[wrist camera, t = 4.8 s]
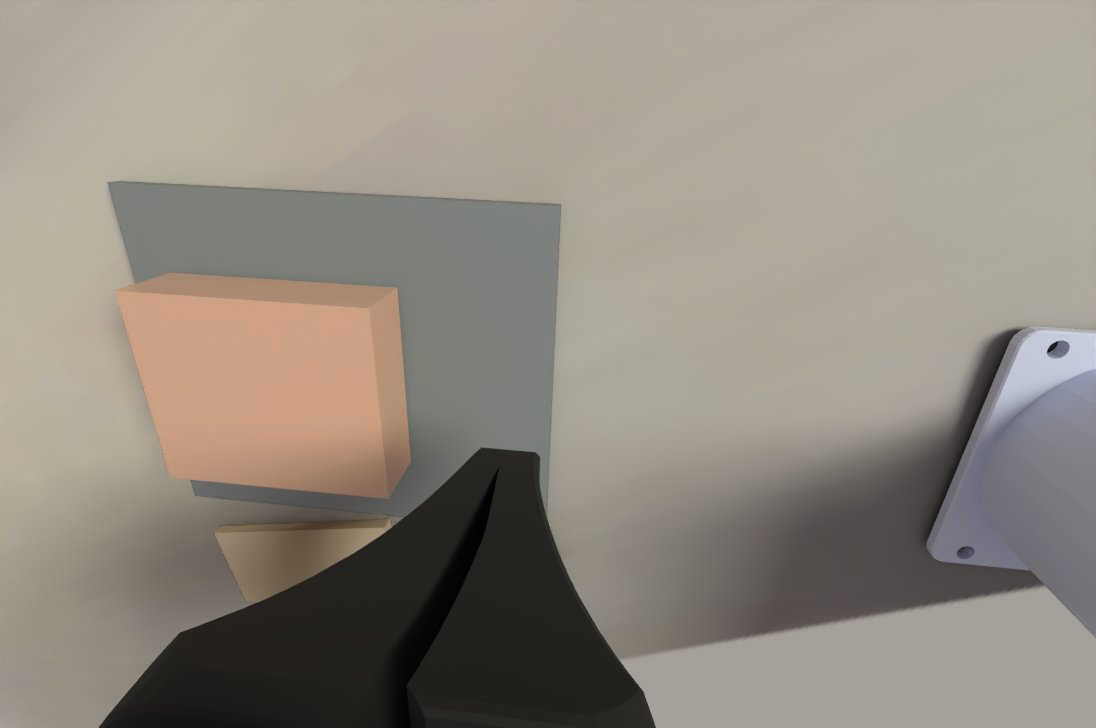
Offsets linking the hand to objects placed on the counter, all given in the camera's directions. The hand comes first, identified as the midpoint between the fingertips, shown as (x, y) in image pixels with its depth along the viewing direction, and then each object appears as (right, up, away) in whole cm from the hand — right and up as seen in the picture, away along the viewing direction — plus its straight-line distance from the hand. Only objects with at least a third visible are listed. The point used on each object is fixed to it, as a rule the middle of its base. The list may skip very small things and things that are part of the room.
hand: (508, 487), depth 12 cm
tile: (-4, +2, +4) cm, 6 cm away
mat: (-5, +3, +5) cm, 8 cm away
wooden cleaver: (-6, -5, +9) cm, 11 cm away
